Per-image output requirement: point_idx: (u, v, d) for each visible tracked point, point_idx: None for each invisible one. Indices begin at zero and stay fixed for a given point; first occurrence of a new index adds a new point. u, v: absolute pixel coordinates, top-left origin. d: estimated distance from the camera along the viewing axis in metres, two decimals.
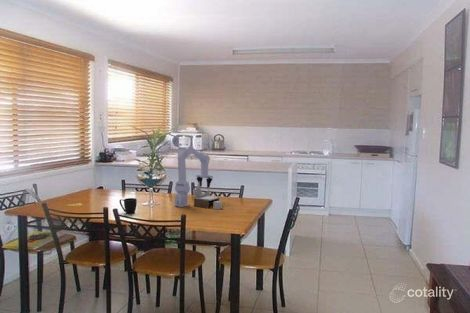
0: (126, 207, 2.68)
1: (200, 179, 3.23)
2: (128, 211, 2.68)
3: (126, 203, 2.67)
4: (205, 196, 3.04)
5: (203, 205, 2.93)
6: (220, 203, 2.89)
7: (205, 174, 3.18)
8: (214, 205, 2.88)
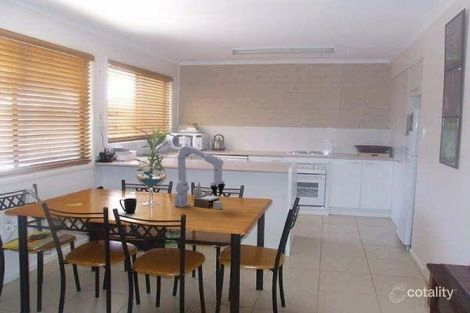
0: (126, 207, 2.68)
1: (220, 185, 2.92)
2: (128, 211, 2.68)
3: (126, 203, 2.67)
4: (205, 196, 3.04)
5: (203, 205, 2.93)
6: (220, 203, 2.89)
7: (214, 180, 2.87)
8: (214, 205, 2.88)
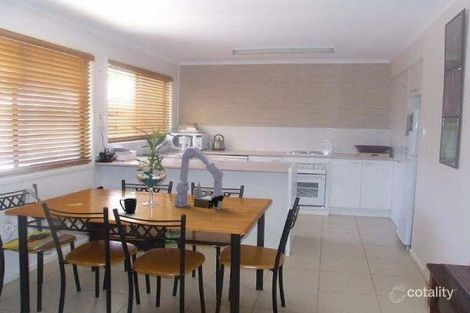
0: (126, 207, 2.68)
1: (219, 197, 2.92)
2: (128, 211, 2.68)
3: (126, 203, 2.67)
4: (205, 196, 3.04)
5: (203, 205, 2.93)
6: (220, 203, 2.89)
7: (214, 192, 2.88)
8: None
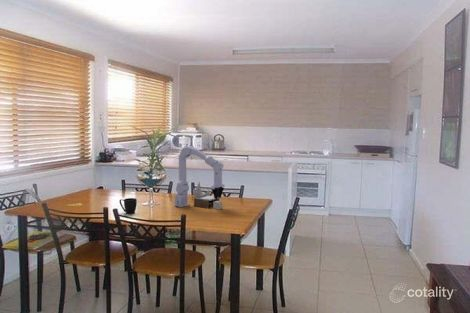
0: (126, 207, 2.68)
1: (219, 189, 2.91)
2: (128, 211, 2.68)
3: (126, 203, 2.67)
4: (205, 196, 3.04)
5: (203, 205, 2.93)
6: (220, 203, 2.89)
7: (214, 183, 2.87)
8: (214, 205, 2.88)
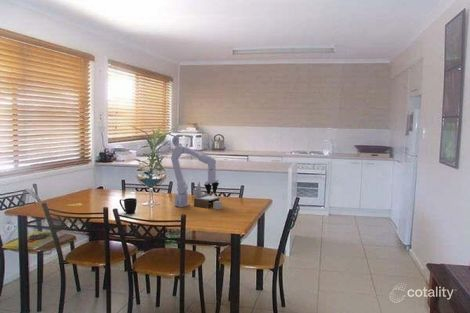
0: (126, 207, 2.68)
1: (214, 184, 3.00)
2: (128, 211, 2.68)
3: (126, 204, 2.67)
4: (205, 196, 3.04)
5: (203, 205, 2.93)
6: (220, 203, 2.89)
7: (208, 179, 2.96)
8: (214, 205, 2.88)
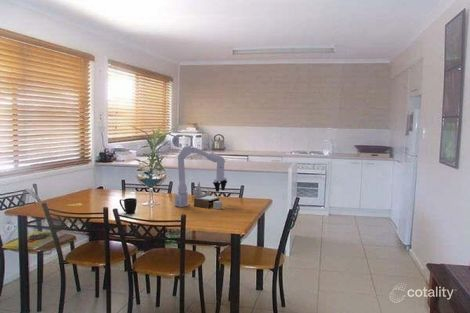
0: (126, 207, 2.68)
1: (222, 182, 3.05)
2: (128, 211, 2.68)
3: (126, 204, 2.67)
4: (205, 196, 3.04)
5: (203, 205, 2.93)
6: (220, 203, 2.89)
7: (216, 177, 3.00)
8: (214, 205, 2.88)
